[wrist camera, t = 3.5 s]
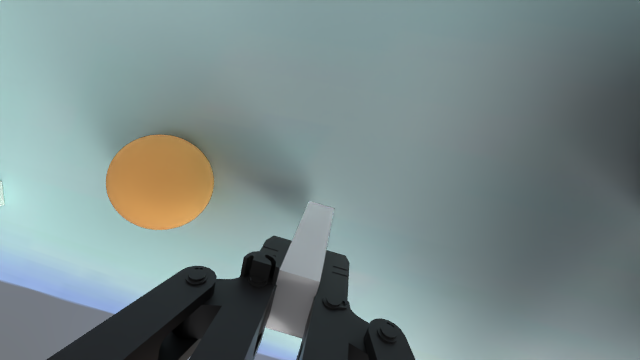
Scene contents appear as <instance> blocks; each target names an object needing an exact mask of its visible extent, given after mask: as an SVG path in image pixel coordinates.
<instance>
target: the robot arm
mask: <svg viewBox="0 0 640 360" xmlns="http://www.w3.org/2000/svg"><path fill="white" fill-rule="evenodd" d="M334 209H335V208H332V207H328V206H325V205H321V204H318V203H314V202H311V201H309V202H308V205H307V207H306V209H305V212H304V214H303V216H302V219H301V221H300V223H299V226H298V228H297V230H296V233H295V235H294V237H293V240H292V241H291V240H287V239H284V238H280V237H277V236H272V237H271V238H269V239H267V240H266V242H265V243H264V245H263V247H262V248H261V250H260V251H257V252H251V253H249V254H247V255H246V256H245V257H244V259H243V265H242V270H241V275H240V277H239V278H236V279H216V275H215V272H214V271H212V270H211V269H210V268H207V267H204V266H192V267H187V268H185V269H183V270H181V271H180V272H178V273H177V274H175V275H174V276H172V277H171V278H169V279H168V280H166V281H164V282H163V283H161V284H160V285H158V286H157V287H155V288H154V289H152V290H151V291H149V292H148V293H146V294H145V295H143V296H142V297H140V298H139V299H137V300H136V301H134V302H133V303H131V304H130V305H128V306H127V307H125V308H124V309H122V310H121V311H119V312H118V313H116V314H115V315H113V316H112V317H110V318H109V319H107V320H106V321H104V322H103V323H101V324H100V325H98V326H97V327H95V328H93V329H92V330H91V331H89V332H87V333H86V334H84V335H83V336H82V337H80V338H78V339H77V340H75V341H74V342H72V343H71V344H69V345H68V346H66V347H65V348H64V349H62V350H60V351H59V352H57V353H56V354H54V355H53V356H51V357H50V358H48V359H47V360H187V359H188V358H189V357H190V356H191V357H190V359H189V360H254V358H255V356H256V353H257V350H258V348H259V345H260V343H261V340H262V336H263V332H264V328H265V326H266V328H269V329H273V330H276V331H279V332H282V333H286V334H289V335H292V336H296V337H299V338H302V343H301V346H300V349H299V353H298V356H297V359H296V360H415V358H414V355H413V353H412V351H411V348H410V346H409V344H408V342H407V339H406V337H405V335H404V334H403V332H402V330H401V329H400V328H399V327H398V326H396V325H395V324H394V323H392V322H390V321H388V320H385V319H374V320H373V321H371V322H370V324H369V323H368V322H366V321H364V320H362V319H361V318H359V317H358V316H357V315H355V314H354V313H353V312H352V310H351V309H350V305H349V302H348V301H347V297H348V279H349V278H348V277H349V261H348V260H347V258H346V256H345V255H342V254H338V253H335V252H331V251H328V250H326V249H327V244H328V239H329V234H330V229H331V224H332V219H333V214H334Z"/></svg>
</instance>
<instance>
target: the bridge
mask: <svg viewBox="0 0 640 360" xmlns="http://www.w3.org/2000/svg"><path fill="white" fill-rule="evenodd" d="M3 205H5V204H4V196H3V187H2V181H0V206H3Z"/></svg>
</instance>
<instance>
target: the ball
mask: <svg viewBox="0 0 640 360" xmlns="http://www.w3.org/2000/svg"><path fill="white" fill-rule="evenodd" d="M213 187H214V176H213V171H212V168H211V166H210V163H209V161H208V160H207V158H206V157H205V155H204V154H203V153H202V152H201V151H200V150H199V149H198V148H197V147H196V146H194V145H193V144H191V143H190V142H188V141H186V140H184V139H182V138H179V137H175V136H171V135H160V134H159V135H149V136H145V137H141V138H139V139H136V140H134V141H132V142H130V143H129V144H127V145H126V146H124V147H123V148H122V149H121V150H120V151H119V152H118V153H117V154H116V155H115V157H114V158H113V160H112V161H111V163H110V165H109V168H108V171H107V175H106V189H107V194H108V197H109V199H110V202H111V203H112V205H113V207H114V208H115V209H116V211H117V212H118V213H119V214H120V215H121V216H122V217H123V218H125V219H126V220H128V221H129V222H131V223H133V224H135V225H137V226H140V227H143V228H147V229H153V230H166V229H172V228H176V227H180V226H182V225H184V224H187V223H189V222H190V221H192V220H193V219H195V218H196V217H197V216H198V215H199V214H200V213H201V212H202V211H203V210H204V209H205V208H206V206H207V204H208V203H209V201H210V198H211V196H212V193H213Z"/></svg>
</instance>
